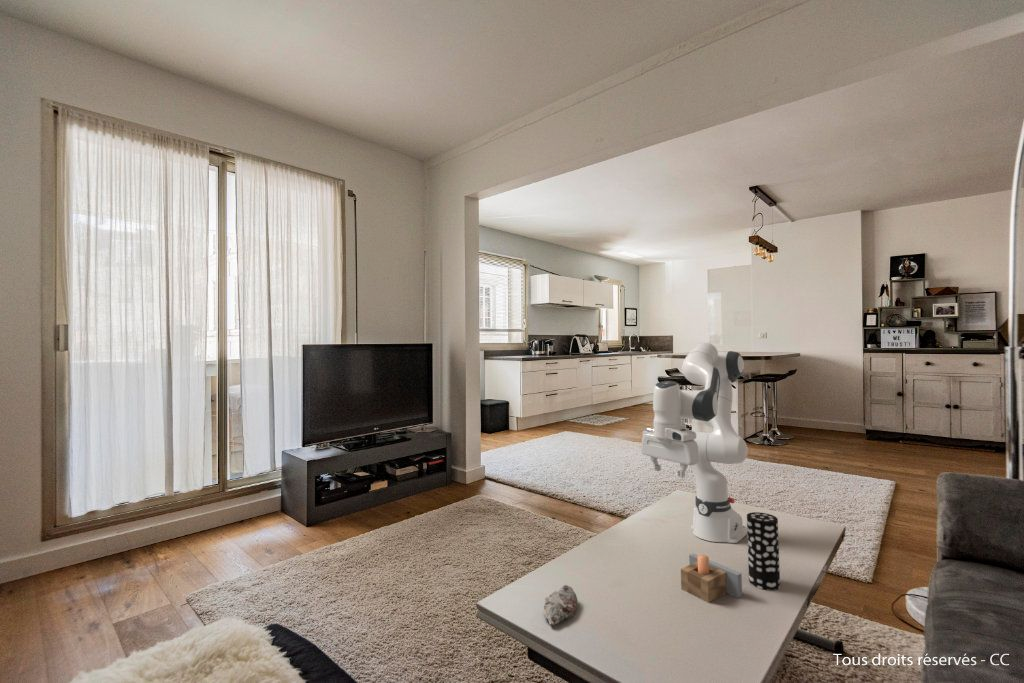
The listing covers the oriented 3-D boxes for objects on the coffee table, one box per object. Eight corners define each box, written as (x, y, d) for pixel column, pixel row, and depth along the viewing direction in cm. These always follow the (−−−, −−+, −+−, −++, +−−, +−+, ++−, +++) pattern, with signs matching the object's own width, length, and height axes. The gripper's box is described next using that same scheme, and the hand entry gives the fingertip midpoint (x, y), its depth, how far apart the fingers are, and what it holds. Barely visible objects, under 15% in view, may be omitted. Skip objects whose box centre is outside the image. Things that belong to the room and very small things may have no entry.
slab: (693, 573, 146) (693, 553, 146) (742, 595, 133) (741, 573, 133) (689, 575, 145) (689, 554, 145) (738, 597, 132) (737, 575, 132)
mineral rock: (557, 632, 118) (557, 614, 119) (533, 620, 124) (533, 603, 124) (588, 607, 129) (588, 591, 130) (565, 597, 135) (565, 582, 135)
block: (699, 580, 142) (699, 560, 142) (726, 592, 135) (726, 572, 135) (681, 589, 137) (680, 568, 137) (708, 602, 130) (707, 581, 130)
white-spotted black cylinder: (754, 573, 145) (752, 510, 146) (783, 582, 139) (781, 516, 140) (744, 583, 140) (742, 517, 140) (775, 593, 134) (772, 524, 134)
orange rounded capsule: (696, 590, 136) (695, 556, 137) (702, 587, 138) (701, 553, 138) (705, 594, 134) (704, 560, 134) (711, 591, 136) (710, 557, 136)
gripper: (636, 428, 157) (637, 468, 157) (688, 436, 140) (689, 482, 140) (648, 426, 161) (650, 465, 160) (701, 434, 144) (702, 478, 143)
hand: (669, 473), depth 150 cm, fingers open, 8 cm apart
